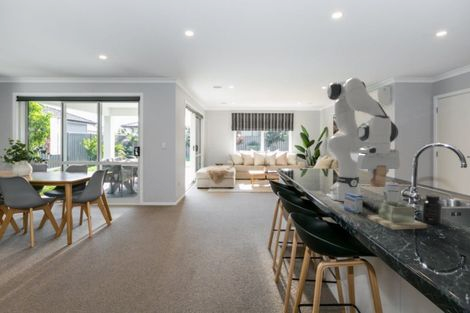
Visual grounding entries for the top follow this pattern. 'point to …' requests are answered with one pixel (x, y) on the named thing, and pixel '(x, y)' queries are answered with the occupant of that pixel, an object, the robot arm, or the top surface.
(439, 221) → the supplement bottle
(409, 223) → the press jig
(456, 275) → the top surface
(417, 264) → the top surface
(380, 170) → the peg
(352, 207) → the medicine box
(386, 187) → the syrup box
